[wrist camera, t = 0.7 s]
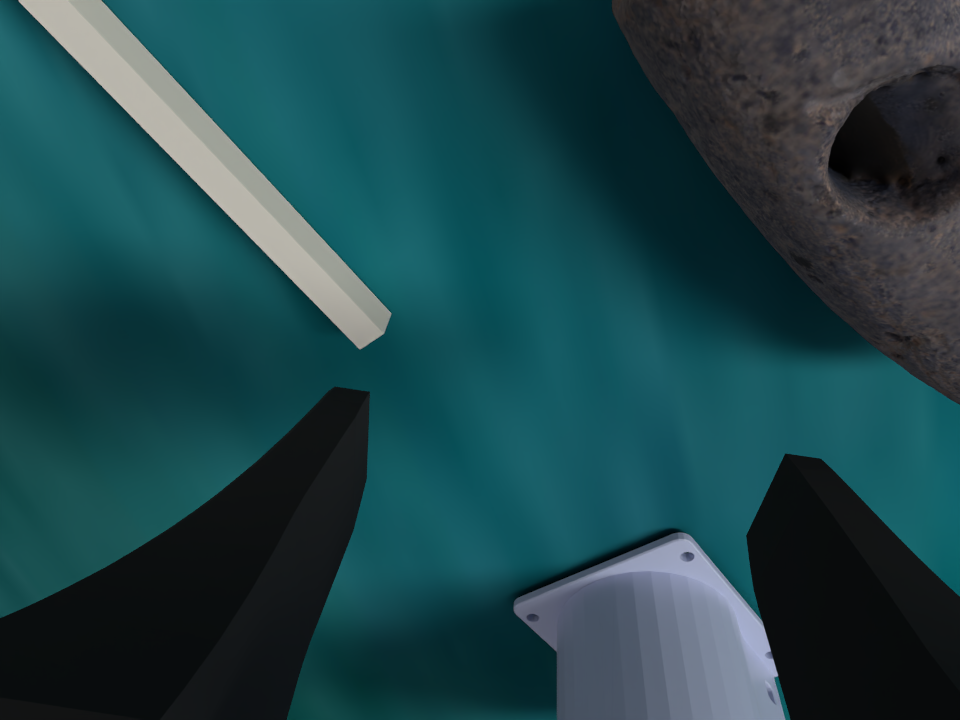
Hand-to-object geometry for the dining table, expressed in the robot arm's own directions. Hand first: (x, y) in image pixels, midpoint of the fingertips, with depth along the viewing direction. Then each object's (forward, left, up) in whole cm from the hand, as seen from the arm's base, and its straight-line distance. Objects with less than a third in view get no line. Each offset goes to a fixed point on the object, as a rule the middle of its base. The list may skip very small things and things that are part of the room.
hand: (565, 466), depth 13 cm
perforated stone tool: (-2, -7, -10) cm, 12 cm away
